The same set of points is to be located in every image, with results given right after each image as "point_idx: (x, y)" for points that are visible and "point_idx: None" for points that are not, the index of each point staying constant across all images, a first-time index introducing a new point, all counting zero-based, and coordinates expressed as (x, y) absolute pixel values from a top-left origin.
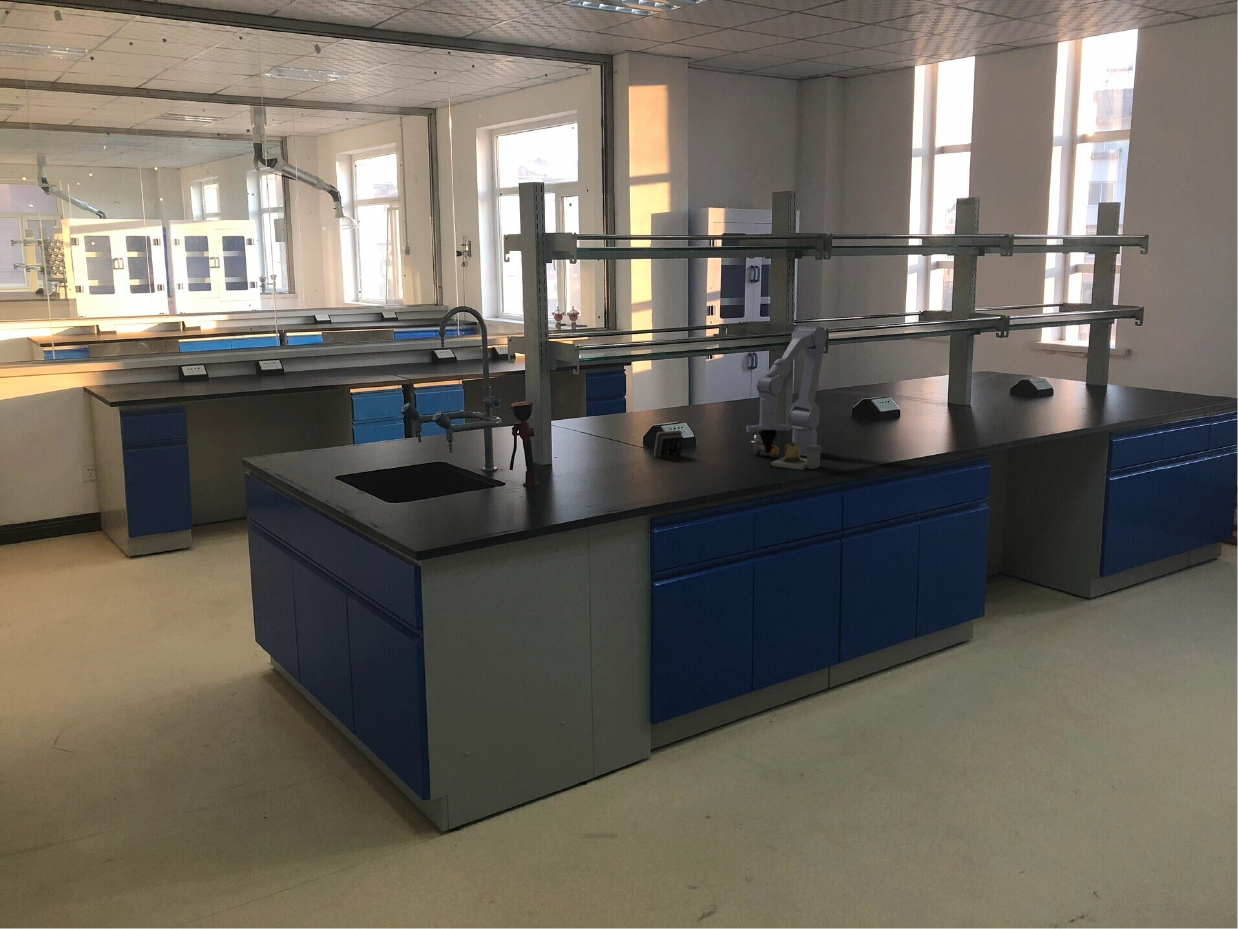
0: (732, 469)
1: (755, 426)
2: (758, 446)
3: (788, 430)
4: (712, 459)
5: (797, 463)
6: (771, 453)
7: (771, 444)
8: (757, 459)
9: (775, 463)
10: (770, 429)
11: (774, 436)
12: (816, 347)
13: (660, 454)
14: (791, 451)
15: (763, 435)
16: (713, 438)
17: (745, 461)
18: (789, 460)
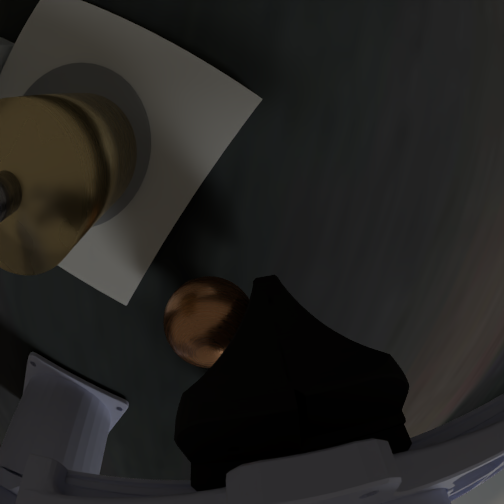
0: (499, 56)
1: None
2: None
3: (34, 458)
4: (495, 294)
5: (56, 65)
6: (232, 283)
7: (243, 319)
8: (309, 308)
9: (228, 77)
10: (355, 441)
11: (211, 382)
12: None
13: None
14: (46, 94)
15: (392, 367)
16: None
17: (395, 255)
18: (100, 98)
